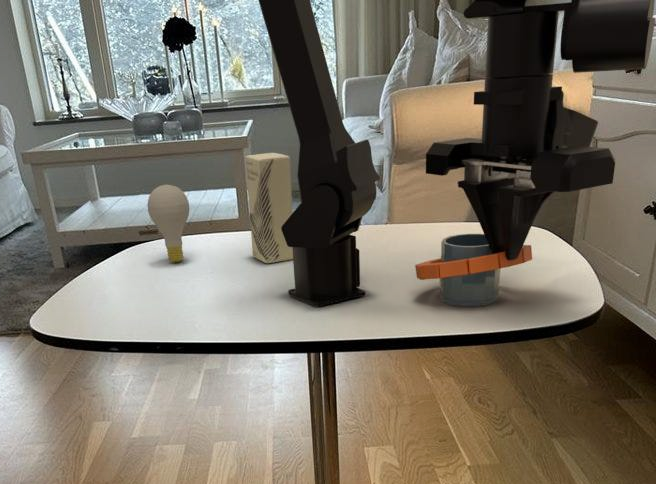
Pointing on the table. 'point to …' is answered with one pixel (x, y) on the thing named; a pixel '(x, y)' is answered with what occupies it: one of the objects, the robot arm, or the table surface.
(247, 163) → the box
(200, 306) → the table surface
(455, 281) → the cup
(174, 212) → the light bulb
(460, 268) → the ring
